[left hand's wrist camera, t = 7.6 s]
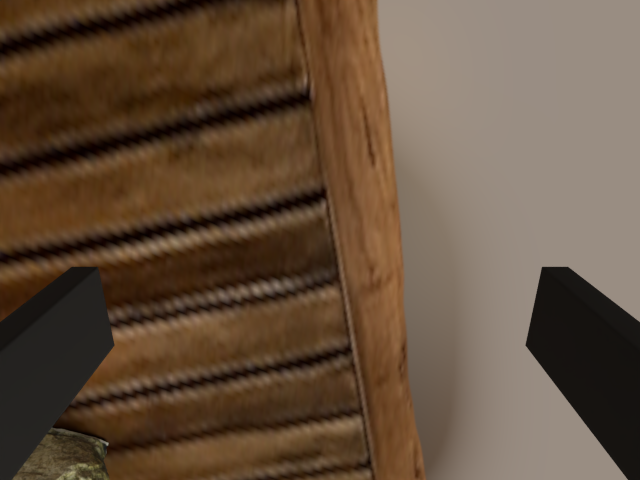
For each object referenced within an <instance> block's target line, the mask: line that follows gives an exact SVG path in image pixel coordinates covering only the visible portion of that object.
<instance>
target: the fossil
mask: <svg viewBox="0 0 640 480" xmlns="http://www.w3.org/2000/svg"><path fill="white" fill-rule="evenodd" d="M107 445H108V443H107V442H105V441H103V440H101V439H98V438H96V437H91V436H87V435H84V434H81V433H77V432H73V431H68V430H65V429H55V428H51V429H50V431H49V432H48V433H47V434H46V436H45V437H44V438H43V440H42V441H41V442H40V444H39V445H38V446H37V448H36V449H35V450H34V451H33V453H32V454H31V455H30V457H29V458H28V459H27V461H26V462H25V463H24V465H23V466H22V467H21V469H20V470H19V471H18V472H17V474H16V475H15V476H14V478H13V479H12V480H109V475H108V473H107V469H106V466H105V463H104V461H103V460H104V457H105V456H106V447H107Z"/></svg>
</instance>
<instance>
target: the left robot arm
mask: <svg viewBox="0 0 640 480" xmlns="http://www.w3.org/2000/svg"><path fill="white" fill-rule="evenodd" d="M113 347H114V341H113V336H112V332H111V327H110V322H109V317H108V313H107V308H106V303H105V298H104V294H103V289H102V284H101V279H100V275H99V270H98V267H71V268H70V269H69V270H67V271H66V272H65V273H63V274H62V275H61V276H60V277H58V278H57V279H56V280H54V281H53V282H52V283H50V284H49V285H48V286H47V287H45V288H44V289H43V290H41V291H40V292H39V293H37V294H36V295H35V296H34V297H32V298H31V299H30V300H28V301H27V302H26V303H24V304H23V305H22V306H21V307H19V308H18V309H17V310H15V311H14V312H13V313H12V314H10V315H9V316H8V317H6V318H5V319H4V320H2V321H1V322H0V480H12V479H13V478H14V476H15V475H16V474H17V472H18V471H19V470H20V469H21V467H22V466H23V465H24V463H25V462H26V461H27V459H28V458H29V457H30V455H31V454H32V453H33V451H34V450H35V449H36V448H37V446H38V445H39V444H40V442H41V441H42V440H43V438H44V437H45V436H46V434H47V433H48V432H49V431H50V429H51V428H52V427H53V425H54V424H55V423H56V421H57V420H58V419H59V417H60V416H61V415H62V413H63V412H64V411H65V410H66V408H67V407H68V406H69V404H70V403H71V402H72V400H73V399H74V398H75V396H76V395H77V394H78V392H79V391H80V390H81V389H82V387H83V386H84V385H85V383H86V382H87V381H88V379H89V378H90V377H91V375H92V374H93V373H94V372H95V370H96V369H97V368H98V366H99V365H100V364H101V362H102V361H103V360H104V358H105V357H106V356H107V354H108V353H109V352H110V351H111V349H112V348H113ZM526 347H527V348H528V349H529V351H530V352H531V353H532V354H533V356H534V357H535V358H536V360H537V361H538V362H539V364H540V365H541V366H542V368H543V369H544V370H545V372H546V373H547V374H548V375H549V377H550V378H551V379H552V381H553V382H554V383H555V385H556V386H557V387H558V389H559V390H560V391H561V392H562V394H563V395H564V396H565V398H566V399H567V400H568V402H569V403H570V404H571V406H572V407H573V408H574V409H575V411H576V412H577V413H578V415H579V416H580V417H581V419H582V420H583V421H584V423H585V424H586V425H587V427H588V428H589V429H590V431H591V432H592V433H593V434H594V436H595V437H596V438H597V440H598V441H599V442H600V444H601V445H602V446H603V448H604V449H605V450H606V451H607V453H608V454H609V455H610V457H611V458H612V459H613V461H614V462H615V463H616V465H617V466H618V467H619V469H620V470H621V471H622V472H623V474H624V475H625V476H626V478H627V479H628V480H640V322H639V321H638V320H636V319H635V318H634V317H632V316H631V315H630V314H628V313H627V312H626V311H625V310H623V309H622V308H621V307H619V306H618V305H617V304H616V303H614V302H613V301H611V300H610V299H609V298H608V297H606V296H605V295H604V294H602V293H601V292H600V291H599V290H597V289H596V288H595V287H593V286H592V285H591V284H590V283H588V282H587V281H586V280H584V279H583V278H582V277H580V276H579V275H578V274H577V273H575V272H574V271H573V270H571V269H570V268H569V267H542V270H541V275H540V279H539V284H538V289H537V294H536V298H535V303H534V308H533V313H532V317H531V322H530V327H529V332H528V336H527V341H526Z"/></svg>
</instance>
